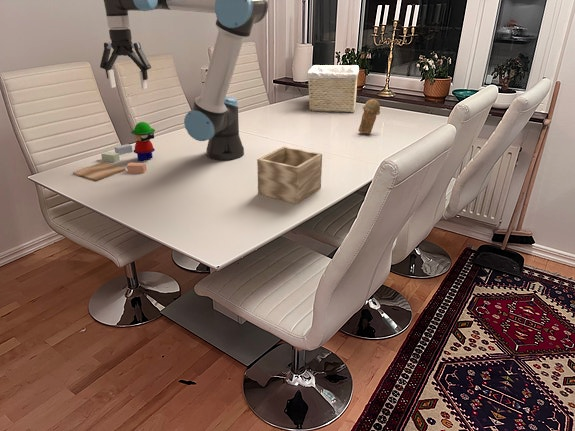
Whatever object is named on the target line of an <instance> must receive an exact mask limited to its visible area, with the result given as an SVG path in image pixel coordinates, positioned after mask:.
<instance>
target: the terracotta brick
mask: <svg viewBox="0 0 575 431" xmlns="http://www.w3.org/2000/svg"><path fill="white" fill-rule="evenodd" d="M126 169H127V173H130V174H145V173H146V172H147V171H148V170H147V164H146V162H128V164H127V165H126Z"/></svg>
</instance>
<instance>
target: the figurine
mask: <svg viewBox="0 0 575 431" xmlns="http://www.w3.org/2000/svg"><path fill="white" fill-rule="evenodd" d="M362 110H363V113H362V116H361V121H360V124H359V127H358V130H357V131H358V132H359V133H365V134H367V135H368V134H371V133H372V132H373V127H374V125H375V122H376V120H377V116H378V115H380V114H381V111H380V110H381V105H380V102H379V101H378V100H376V99H374V98H373V99H369V100H367V101H366V103H365V104H364V105H363V106H362Z"/></svg>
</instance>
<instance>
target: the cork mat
mask: <svg viewBox="0 0 575 431" xmlns="http://www.w3.org/2000/svg"><path fill="white" fill-rule="evenodd" d="M126 169H127V168H125V167H121V166H117V165H115V164H114V165H113V164H111V163H110V164H109V163H106V162H104V161H103V162H99V163H97V164H93V165H90V166H87V167H85V168H82V169H79V170H75V171H74V172H72V174H73V175H75V176H78V177H81V178H83V179H88V180H91V181H94V182H99V181H101V180H104V179H106V178H109V177H112V176H115V175H117V174H120V173H122V172H125V171H127V170H126Z"/></svg>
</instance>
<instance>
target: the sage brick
mask: <svg viewBox="0 0 575 431" xmlns="http://www.w3.org/2000/svg"><path fill="white" fill-rule="evenodd" d="M101 160H102V161H103V160H104V161H103V162H108V161H109V163H117V162H119V161H120V160H121V159H120V155H119V153H115V151H114V152H113V151H105V152H102V153H101Z"/></svg>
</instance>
